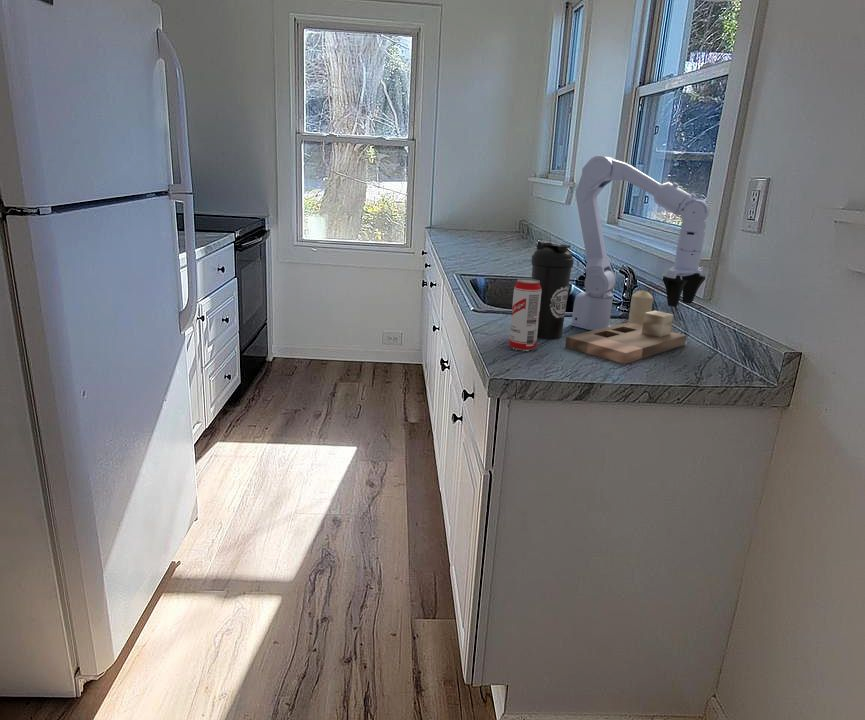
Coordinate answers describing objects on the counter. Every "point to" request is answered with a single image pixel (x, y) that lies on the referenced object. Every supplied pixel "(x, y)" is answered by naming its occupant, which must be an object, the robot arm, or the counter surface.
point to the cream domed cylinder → (640, 306)
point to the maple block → (657, 323)
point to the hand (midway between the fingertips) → (679, 304)
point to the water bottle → (552, 286)
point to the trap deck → (623, 342)
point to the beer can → (525, 314)
